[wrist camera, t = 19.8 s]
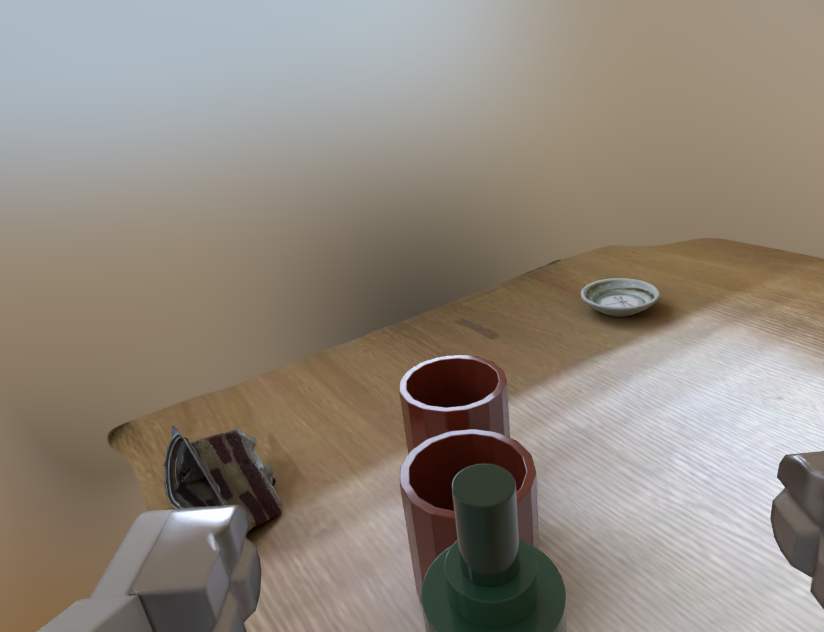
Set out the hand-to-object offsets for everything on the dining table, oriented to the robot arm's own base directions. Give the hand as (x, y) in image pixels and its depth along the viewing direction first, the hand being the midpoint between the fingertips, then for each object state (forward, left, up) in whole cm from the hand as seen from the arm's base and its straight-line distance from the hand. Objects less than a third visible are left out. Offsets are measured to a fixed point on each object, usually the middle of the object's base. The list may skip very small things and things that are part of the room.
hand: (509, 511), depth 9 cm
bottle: (+5, +11, -28) cm, 30 cm away
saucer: (+46, +50, -28) cm, 73 cm away
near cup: (+9, +21, -28) cm, 36 cm away
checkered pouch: (-5, +39, -28) cm, 48 cm away
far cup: (+13, +31, -28) cm, 44 cm away
